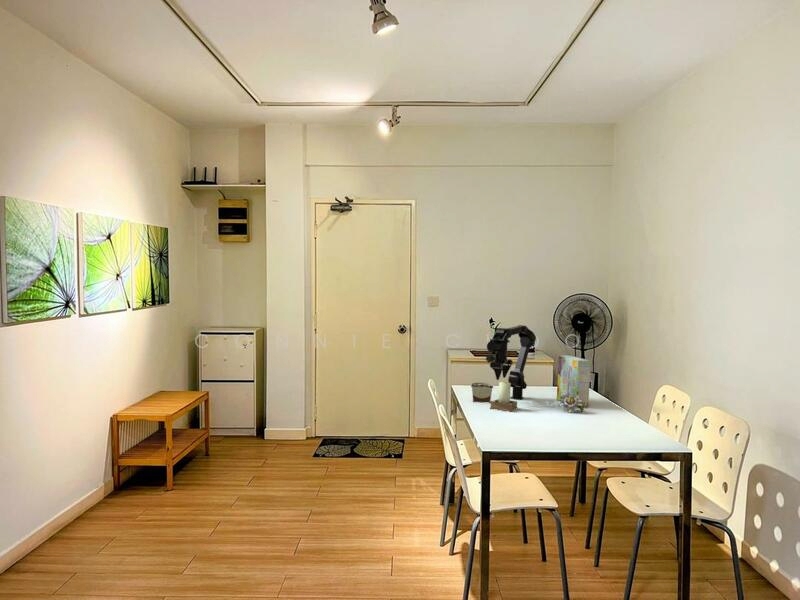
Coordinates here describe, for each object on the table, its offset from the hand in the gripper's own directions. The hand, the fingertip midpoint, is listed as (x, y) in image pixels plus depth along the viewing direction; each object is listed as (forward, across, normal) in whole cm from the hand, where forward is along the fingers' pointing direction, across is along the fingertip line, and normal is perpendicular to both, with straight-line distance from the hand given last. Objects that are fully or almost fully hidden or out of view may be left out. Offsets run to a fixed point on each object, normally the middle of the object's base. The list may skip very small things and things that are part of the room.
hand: (500, 378), depth 319 cm
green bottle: (+12, +14, +8) cm, 20 cm away
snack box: (+13, -25, +33) cm, 43 cm away
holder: (+13, +14, +8) cm, 21 cm away
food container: (+13, +5, -9) cm, 17 cm away
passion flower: (+13, -4, +38) cm, 40 cm away
